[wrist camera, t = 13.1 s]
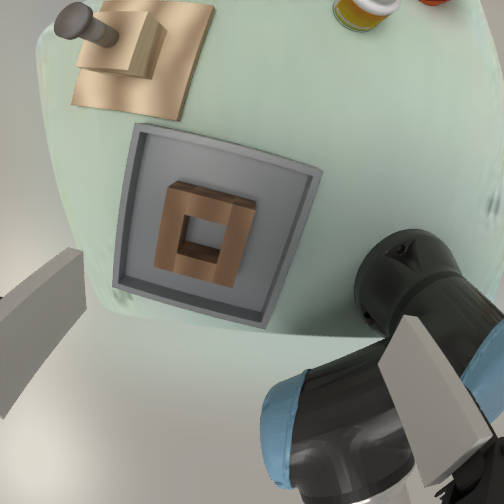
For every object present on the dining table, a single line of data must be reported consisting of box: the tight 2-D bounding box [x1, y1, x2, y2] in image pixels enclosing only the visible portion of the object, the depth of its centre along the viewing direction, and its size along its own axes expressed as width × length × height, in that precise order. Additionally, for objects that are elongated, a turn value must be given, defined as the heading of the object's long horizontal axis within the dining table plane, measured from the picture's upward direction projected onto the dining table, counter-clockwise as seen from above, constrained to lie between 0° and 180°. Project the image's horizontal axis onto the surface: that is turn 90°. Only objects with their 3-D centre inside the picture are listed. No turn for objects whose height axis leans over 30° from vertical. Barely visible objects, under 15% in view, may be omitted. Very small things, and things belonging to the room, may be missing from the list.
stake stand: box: [54, 0, 215, 121], centre depth 20 cm, size 14×14×15 cm
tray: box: [112, 123, 323, 329], centre depth 33 cm, size 20×20×3 cm
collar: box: [153, 180, 256, 288], centre depth 32 cm, size 9×9×4 cm
